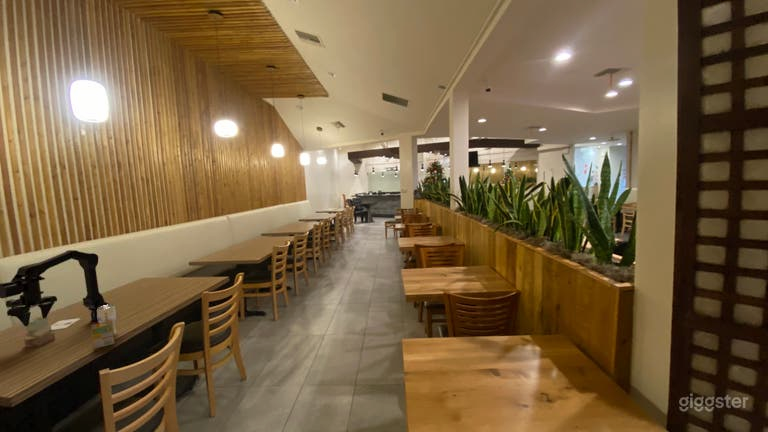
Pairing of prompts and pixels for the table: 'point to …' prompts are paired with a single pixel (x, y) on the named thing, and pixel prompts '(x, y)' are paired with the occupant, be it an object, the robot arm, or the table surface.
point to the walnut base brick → (39, 341)
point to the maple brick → (38, 333)
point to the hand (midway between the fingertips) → (35, 322)
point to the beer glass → (107, 315)
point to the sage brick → (37, 324)
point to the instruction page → (63, 324)
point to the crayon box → (103, 334)
